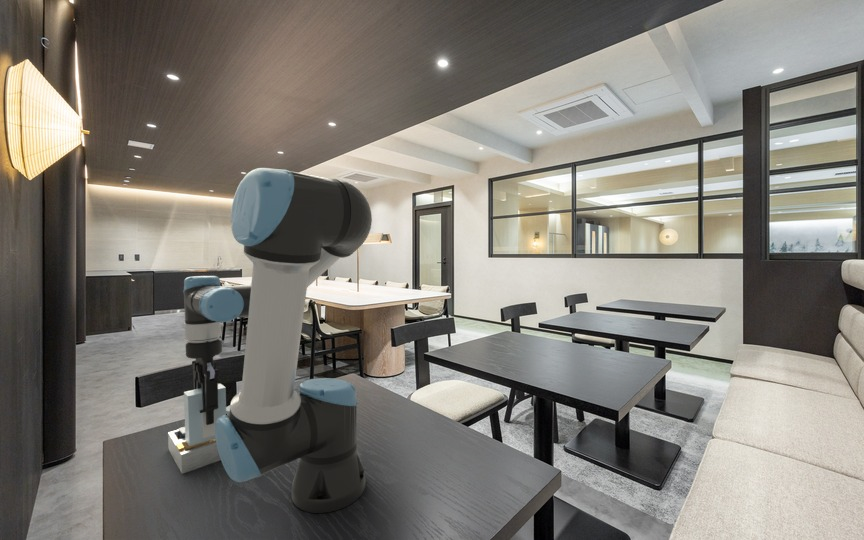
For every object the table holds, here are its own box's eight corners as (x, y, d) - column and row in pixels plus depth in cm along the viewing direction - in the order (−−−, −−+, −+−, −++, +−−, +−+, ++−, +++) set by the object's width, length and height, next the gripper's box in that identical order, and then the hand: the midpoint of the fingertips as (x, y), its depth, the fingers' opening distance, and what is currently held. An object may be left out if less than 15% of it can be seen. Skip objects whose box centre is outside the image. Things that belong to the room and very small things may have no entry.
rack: (238, 453, 92) (237, 432, 92) (181, 473, 84) (181, 450, 83) (220, 433, 103) (219, 414, 103) (168, 449, 94) (167, 428, 94)
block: (226, 434, 92) (225, 387, 91) (189, 446, 86) (187, 396, 86) (221, 429, 95) (220, 383, 94) (185, 440, 89) (183, 391, 88)
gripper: (232, 342, 86) (234, 439, 87) (211, 331, 98) (213, 417, 99) (194, 348, 81) (197, 451, 82) (177, 336, 93) (180, 426, 94)
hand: (206, 432), depth 90 cm, fingers closed on block, 4 cm apart
